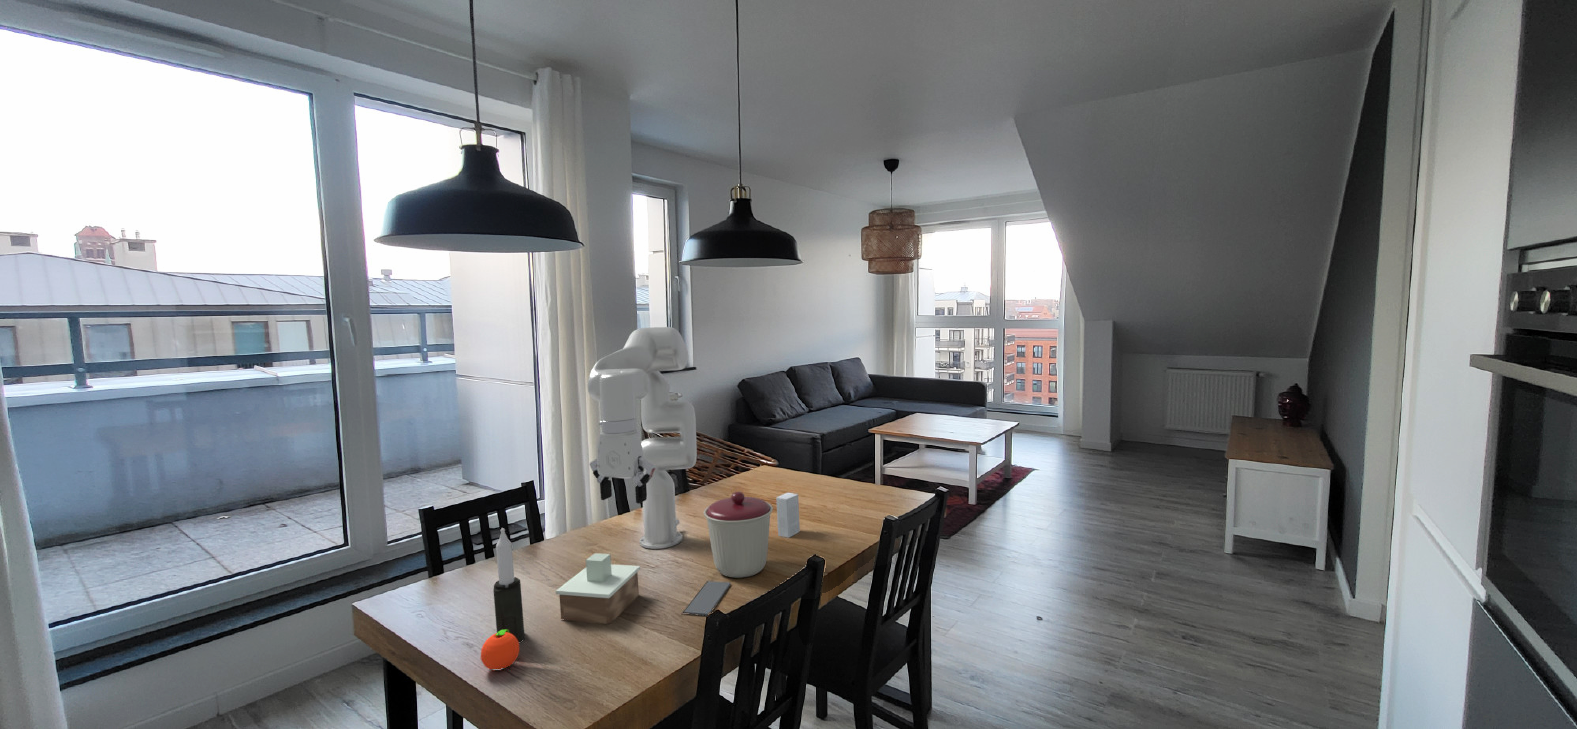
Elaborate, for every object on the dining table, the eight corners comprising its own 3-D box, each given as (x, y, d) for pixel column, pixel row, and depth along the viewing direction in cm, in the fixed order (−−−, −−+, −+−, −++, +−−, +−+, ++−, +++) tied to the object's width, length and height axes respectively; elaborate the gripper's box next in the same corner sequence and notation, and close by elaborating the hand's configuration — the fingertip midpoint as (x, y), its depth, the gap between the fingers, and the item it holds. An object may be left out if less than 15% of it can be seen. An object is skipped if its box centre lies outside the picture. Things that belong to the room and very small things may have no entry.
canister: (788, 566, 163) (786, 489, 161) (742, 591, 149) (738, 507, 148) (740, 551, 175) (736, 479, 173) (692, 573, 161) (688, 495, 159)
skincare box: (788, 529, 191) (787, 492, 189) (800, 532, 188) (798, 494, 187) (777, 535, 186) (775, 497, 185) (788, 538, 183) (787, 499, 182)
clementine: (493, 656, 125) (490, 622, 124) (528, 653, 125) (525, 620, 125) (475, 679, 117) (472, 644, 116) (512, 677, 117) (509, 641, 117)
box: (594, 594, 151) (592, 567, 150) (639, 597, 148) (637, 570, 147) (561, 623, 137) (559, 593, 136) (610, 627, 134) (608, 597, 134)
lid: (591, 571, 151) (590, 543, 150) (640, 574, 148) (638, 546, 147) (556, 599, 136) (554, 569, 136) (609, 603, 133) (607, 572, 133)
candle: (497, 651, 126) (488, 534, 124) (498, 639, 131) (489, 526, 129) (524, 645, 128) (515, 530, 126) (524, 634, 133) (515, 522, 131)
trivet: (671, 580, 157) (670, 578, 157) (730, 584, 153) (730, 582, 153) (643, 611, 141) (643, 608, 141) (708, 616, 138) (708, 613, 138)
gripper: (577, 428, 139) (582, 502, 140) (641, 431, 132) (645, 508, 134) (599, 422, 146) (603, 492, 147) (661, 424, 139) (664, 498, 141)
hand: (623, 500), depth 140 cm, fingers open, 9 cm apart
